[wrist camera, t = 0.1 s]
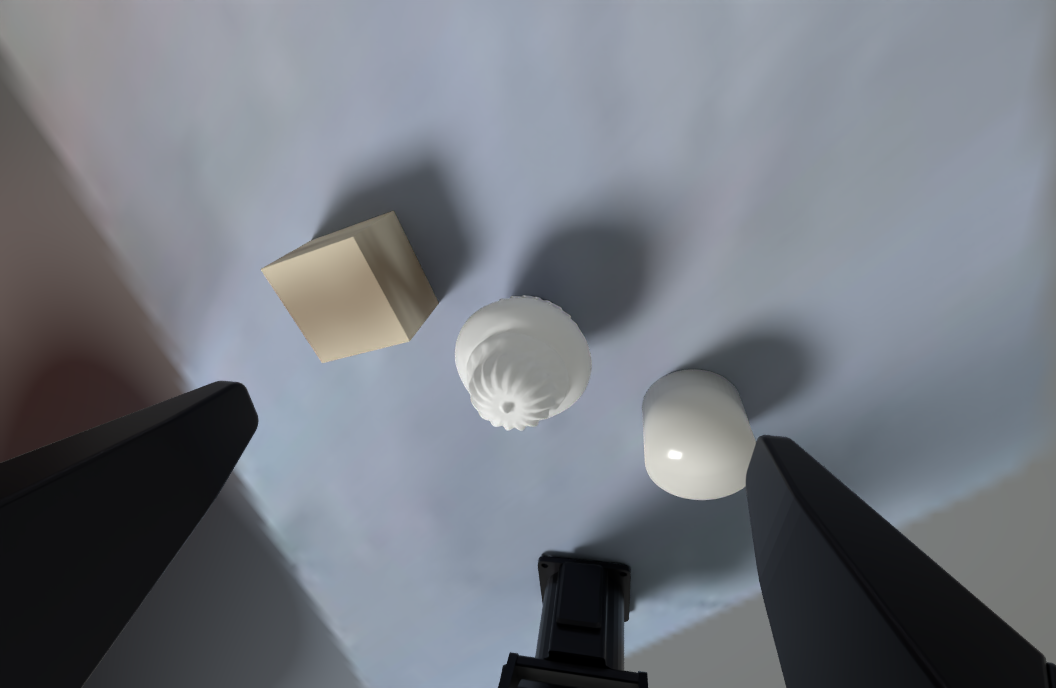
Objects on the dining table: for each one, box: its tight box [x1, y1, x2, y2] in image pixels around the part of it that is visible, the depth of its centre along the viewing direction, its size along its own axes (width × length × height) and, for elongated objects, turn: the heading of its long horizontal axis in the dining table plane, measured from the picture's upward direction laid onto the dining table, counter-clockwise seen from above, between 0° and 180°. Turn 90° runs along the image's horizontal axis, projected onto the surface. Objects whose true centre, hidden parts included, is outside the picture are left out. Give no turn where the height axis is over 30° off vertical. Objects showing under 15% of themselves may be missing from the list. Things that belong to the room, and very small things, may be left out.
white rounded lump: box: [642, 369, 756, 500], centre depth 23 cm, size 5×5×4 cm
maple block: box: [261, 211, 439, 363], centre depth 22 cm, size 5×5×4 cm
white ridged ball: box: [455, 295, 592, 431], centre depth 20 cm, size 6×6×7 cm
